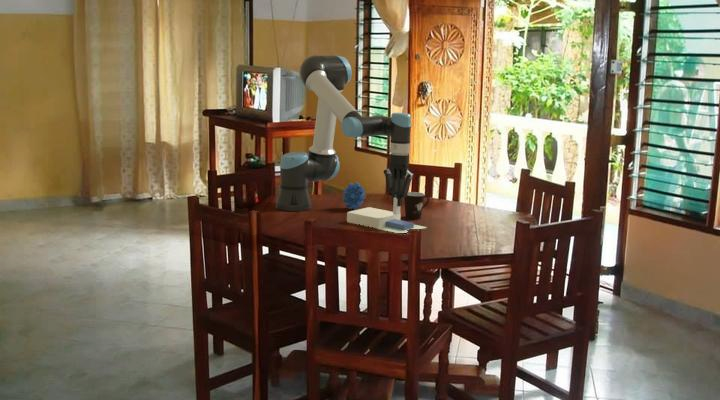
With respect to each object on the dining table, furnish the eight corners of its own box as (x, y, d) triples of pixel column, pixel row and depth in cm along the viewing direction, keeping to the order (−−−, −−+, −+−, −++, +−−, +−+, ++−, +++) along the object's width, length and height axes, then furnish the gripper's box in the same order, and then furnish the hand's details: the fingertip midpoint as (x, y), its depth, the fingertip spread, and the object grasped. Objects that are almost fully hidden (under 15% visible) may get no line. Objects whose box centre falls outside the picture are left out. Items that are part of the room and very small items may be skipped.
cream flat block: (346, 221, 306) (347, 212, 305) (368, 216, 317) (369, 207, 316) (378, 228, 296) (379, 218, 295) (400, 223, 307) (400, 213, 306)
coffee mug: (405, 220, 312) (406, 196, 310) (400, 215, 320) (401, 192, 318) (433, 220, 314) (434, 195, 312) (427, 215, 323) (428, 191, 321)
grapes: (370, 210, 329) (371, 182, 327) (361, 212, 324) (362, 184, 321) (349, 206, 336) (349, 179, 334) (339, 208, 331) (340, 180, 328)
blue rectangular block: (385, 226, 299) (385, 221, 299) (395, 224, 304) (395, 219, 303) (404, 230, 294) (404, 225, 293) (413, 228, 298) (413, 222, 298)
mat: (377, 229, 295) (377, 228, 295) (401, 222, 308) (401, 222, 308) (402, 234, 288) (402, 234, 288) (426, 227, 300) (426, 227, 300)
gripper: (379, 152, 295) (377, 212, 300) (407, 156, 287) (404, 218, 292) (391, 150, 301) (388, 209, 306) (419, 154, 293) (415, 215, 298)
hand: (396, 214), depth 299 cm, fingers closed
